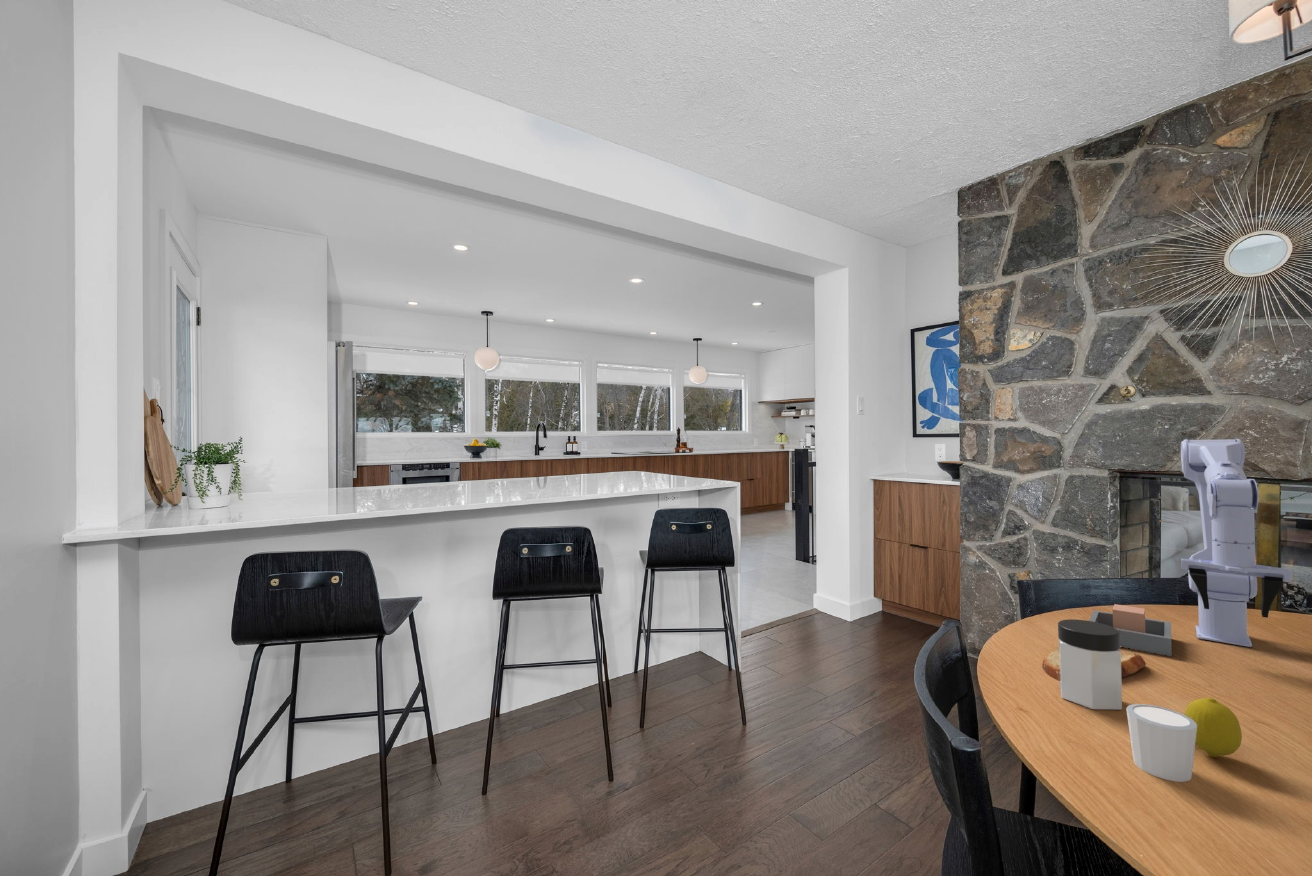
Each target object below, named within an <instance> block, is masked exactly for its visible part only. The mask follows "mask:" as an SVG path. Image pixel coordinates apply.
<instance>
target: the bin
mask: <svg viewBox="0 0 1312 876" xmlns="http://www.w3.org/2000/svg"><path fill="white" fill-rule="evenodd" d="M1088 621H1092V622H1097V623H1101V624H1105V625H1108V626H1111V627H1113V612H1106V611H1102V610H1093V611H1092V613H1091V615H1090V618H1089V620H1088ZM1115 629H1117V630H1118V631H1119V633H1120V646H1121V647H1120V648H1122V647H1124V648H1123V649H1128V648H1130V649H1129V650H1133V649H1136V650H1135V651H1138V650H1140V651H1139V652H1144V651H1147V652H1146V653H1149V654H1154V653H1156V655H1160V656H1165V655H1167V656H1166V657H1170V656H1172V653H1173V652H1171V651H1172V622H1171V621H1166V620H1165V621H1164V620H1160V619H1159V620H1158V619H1151V618H1146V617H1145V633H1141V632H1135V631H1129V630H1123V629H1118V628H1115Z"/></svg>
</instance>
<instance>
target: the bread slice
mask: <svg viewBox="0 0 1312 876" xmlns="http://www.w3.org/2000/svg"><path fill="white" fill-rule="evenodd" d="M1132 653H1133V652H1132ZM1041 664H1042V670H1043V671H1044V673H1045V674H1047V676H1049V677H1051V678H1052V679H1054V680H1056V681H1059V682H1060V675H1059V646H1058V647H1055V648H1053V649H1050V653H1048V654H1047V655H1045V656H1044V658H1043V661H1042V663H1041ZM1146 665H1147V663H1146V661H1145V659H1144V657H1142V656H1141V655H1140V654H1139V653H1133V654H1124V653H1121V678H1125V677H1128V676H1131V675H1134V674H1135V673H1137V672H1138V671H1140V670H1141V669H1143V668H1144V667H1146Z"/></svg>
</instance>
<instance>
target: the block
mask: <svg viewBox="0 0 1312 876" xmlns="http://www.w3.org/2000/svg"><path fill="white" fill-rule="evenodd" d="M1112 613H1113V628H1118V629H1123V630H1129V631H1135V632H1141V633H1145V618H1146V608H1142V607H1137V606H1129V605H1123V604H1116V603H1114V605H1113V607H1112Z"/></svg>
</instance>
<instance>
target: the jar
mask: <svg viewBox="0 0 1312 876" xmlns="http://www.w3.org/2000/svg"><path fill="white" fill-rule="evenodd" d="M1057 636H1058V637H1057V638H1058V647H1059V675H1060V681H1059V691H1060V696H1061V698H1062V699H1063V700H1066V701H1068V702H1072V703H1075V704H1077V705H1080V706H1083V707H1085V708H1087V709H1090V710H1107V711H1109V710H1111V711H1113V710H1114V711H1116V710H1117V711H1118V710H1119V711H1120V710H1123V694H1122V693H1123V691H1122V690H1123V689H1122V686H1123V684H1122V677H1121V654H1122V653H1121V650H1120V649H1121V647H1120V633H1119V631H1118V630H1117V629H1115V628H1113V627H1111V626H1108V625H1105V624H1101V623H1097V622H1092V621H1089V620H1085V619H1084V620H1083V619H1071V618H1070V619H1062V620H1060V621H1058V623H1057Z"/></svg>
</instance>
